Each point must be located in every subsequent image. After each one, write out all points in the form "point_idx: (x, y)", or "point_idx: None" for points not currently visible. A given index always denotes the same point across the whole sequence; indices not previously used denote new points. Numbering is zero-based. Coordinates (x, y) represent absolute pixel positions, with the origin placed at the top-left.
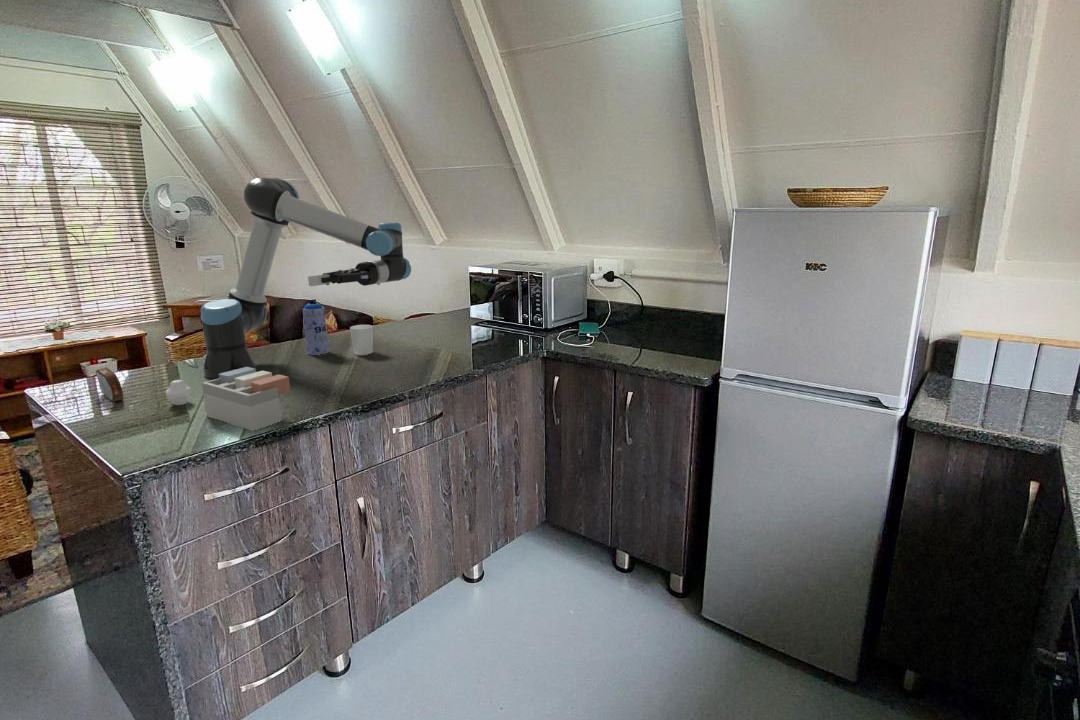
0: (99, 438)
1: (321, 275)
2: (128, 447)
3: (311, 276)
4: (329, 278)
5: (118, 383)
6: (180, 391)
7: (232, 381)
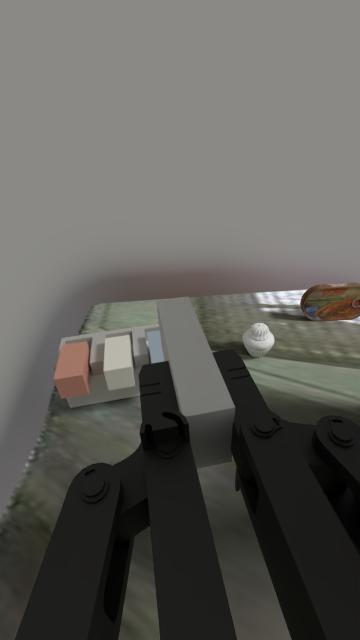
0: (190, 301)
1: (176, 352)
2: (147, 309)
3: (178, 306)
4: (143, 416)
5: (306, 298)
6: (244, 335)
7: (143, 342)
